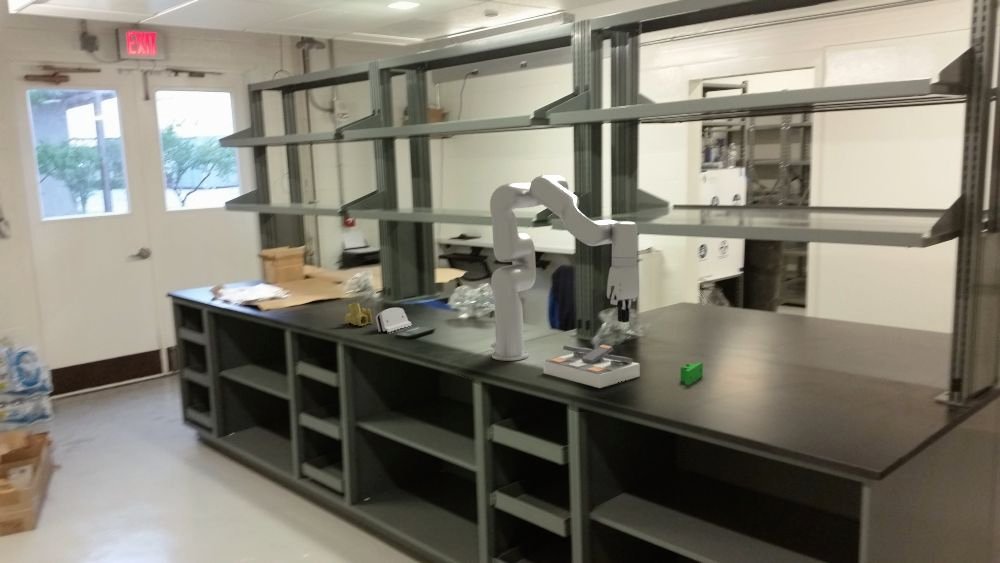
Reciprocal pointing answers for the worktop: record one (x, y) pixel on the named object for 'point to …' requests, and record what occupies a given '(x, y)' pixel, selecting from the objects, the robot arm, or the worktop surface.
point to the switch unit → (591, 370)
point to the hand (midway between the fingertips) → (623, 321)
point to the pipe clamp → (691, 373)
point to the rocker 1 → (577, 349)
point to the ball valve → (358, 315)
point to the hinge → (392, 320)
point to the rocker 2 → (597, 354)
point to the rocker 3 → (617, 358)
